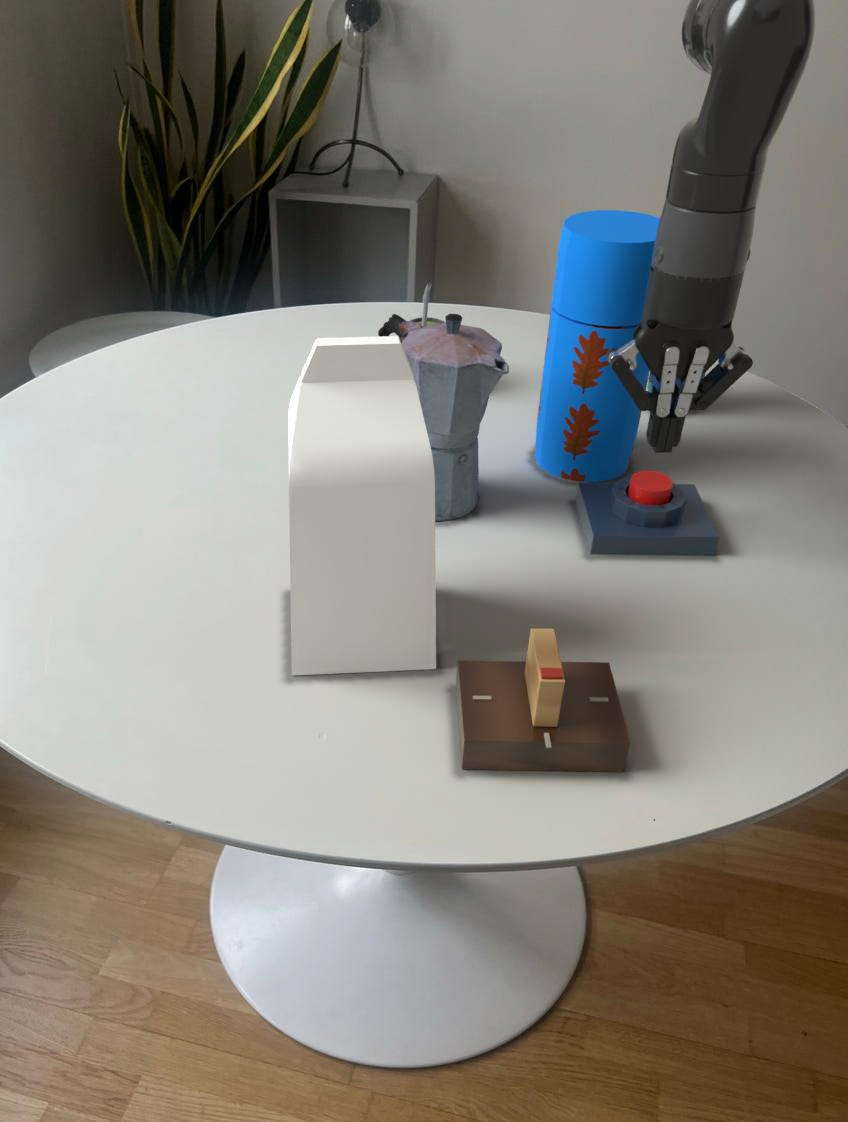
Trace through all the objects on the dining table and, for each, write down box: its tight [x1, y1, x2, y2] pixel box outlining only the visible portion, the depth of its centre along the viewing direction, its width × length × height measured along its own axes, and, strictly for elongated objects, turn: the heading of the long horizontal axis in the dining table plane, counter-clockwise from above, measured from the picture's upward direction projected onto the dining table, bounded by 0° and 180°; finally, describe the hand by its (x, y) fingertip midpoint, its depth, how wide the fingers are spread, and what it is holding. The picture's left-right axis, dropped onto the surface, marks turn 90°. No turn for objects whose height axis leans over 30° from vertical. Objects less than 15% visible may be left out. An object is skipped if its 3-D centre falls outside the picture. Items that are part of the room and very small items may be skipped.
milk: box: [287, 335, 437, 677], centre depth 76 cm, size 12×12×26 cm
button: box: [628, 470, 674, 505], centre depth 94 cm, size 4×4×2 cm
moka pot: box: [377, 313, 510, 522], centre depth 95 cm, size 10×15×20 cm, turn 53°
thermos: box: [534, 209, 660, 483], centre depth 100 cm, size 11×11×25 cm
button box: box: [575, 475, 720, 557], centre depth 96 cm, size 12×10×4 cm
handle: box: [525, 627, 565, 727], centre depth 71 cm, size 6×2×5 cm, turn 179°
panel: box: [455, 659, 632, 773], centre depth 74 cm, size 12×10×3 cm
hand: (660, 448), depth 91 cm, fingers closed
